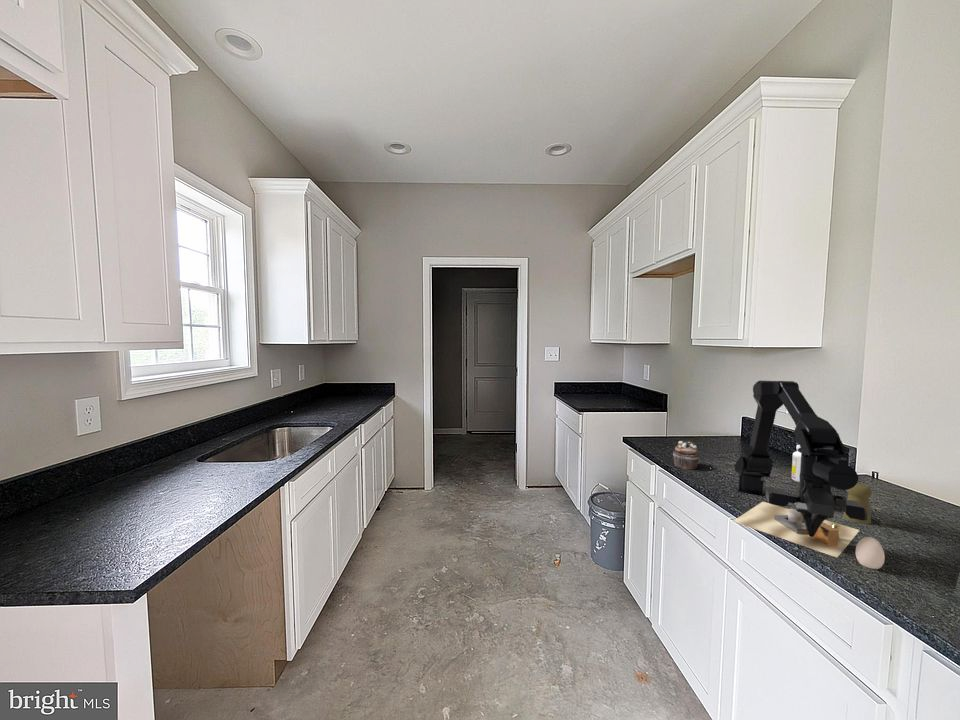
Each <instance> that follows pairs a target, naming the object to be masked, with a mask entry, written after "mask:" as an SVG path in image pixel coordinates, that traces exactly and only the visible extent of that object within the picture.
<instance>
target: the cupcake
mask: <svg viewBox="0 0 960 720" xmlns="http://www.w3.org/2000/svg"><path fill="white" fill-rule="evenodd" d="M672 455H673V461H674V466H675V467H677V468H680V469H685V470H696V469H697V468H698V465H699V464H698V463H699V461H700V458H701V456H700V452H699V451H698V447H697V445H696V444H695V443H694V442H693V441H692V440H682V439H681V440H680V441H678V444H677V445H675V447H674V450H673V452H672Z"/></svg>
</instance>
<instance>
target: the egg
mask: <svg viewBox="0 0 960 720" xmlns="http://www.w3.org/2000/svg"><path fill="white" fill-rule="evenodd" d="M855 546H856V547H855V557H856V559H857V561H858V563H859V564H860V565H861V566H863V567H865V568H868V569H872V570H879V569H881V568H882V567H883V566H884V564H885V559H886V558H885V557H886V555H885V551H884V549H883V546H882V544H881V543H880V542H879V541H878V540H877V539H876V538H874V537H872V536H865V537H863V538H861V539H859V540H858V543H857V544H856V545H855Z"/></svg>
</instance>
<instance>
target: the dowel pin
mask: <svg viewBox="0 0 960 720" xmlns="http://www.w3.org/2000/svg"><path fill="white" fill-rule="evenodd" d="M834 523H835V522H834ZM834 523H832V524H831V527H833V528H835V529H837V530H839V528H840V526H839V525H838V524H839V523H837V524H834ZM838 540H839V533H838Z"/></svg>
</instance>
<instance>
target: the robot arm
mask: <svg viewBox="0 0 960 720" xmlns="http://www.w3.org/2000/svg"><path fill="white" fill-rule="evenodd" d="M752 393H753V395H752V396H753V399H754V401H755V403H756V404H757V408H756V412H755V418H754V422H753V428H752V432H751V437H750V443H749V445H747V446H746V447H745V448H744V449H742V452H741V455H740V457H739V458H738V459H737V460H736V462H735V463H734V471H735V472H736V473H737V474H738V477H739V478H738V481H739V482H738V488H737V489H736V492H739V493H744V494H748V495H753V496H760V497H761V496H763V495H765V498H766V501H767V503H770V504H772V505H776V506H780V507H786V506H788V505H789V503H791V504H792V506H793V507H794V508H793V509H796V511H798V512H801V515H802V517H803V520H804V522H805V525H806V528H807V531H808V534H809V536H810V537H814V535H815V533H816V532H817V530H818V528H819V526H820V525H821V524H822V522H823V521H824V520H828V519H829V518H830V519H834V518H835V513H844V512H845V514H846V515H847V516H848V517H849V518H852V519H858V520H864V521H866V520H867V510H866V509H865V508H864V507H863V506H861V505H860V504H859V503H858V502H857V501H852V500H847V498H846V497H845V496H843V495H837V494H833V493H832V487H833V488H836V489H837V490H841V491H846V490H848V489H851V488H853V487H854V486H855V485H856V484H857V483H858V482H859V475H858V473H857V471H856V470H855V469H854V467H852V466H850V465H849V460H848V459H847V458H848V455H847V453H846V452H847V449H846V447H845V445H844V444H843V442H842V440H841V437H840V434H839V432H838V431H837V430H836V428H834V427H833V425H832V424H831V423H830V422H829V421H828V420H826V419H824V418H821V417H820V416H818V415H817V414H816V412H815V411H814V409H813V408H812V406H811V405H810V403H809V402H808V401H807V399H806V398H805V396H804V394H803V393H802V392H801V390H800V386H799V383H798V382H797V381H793V380H758V381H756V382H755V383H754V384H753V386H752ZM782 406H784V408H785V410H786V411H787V412H788V415H789V416H790V418H791V419H792V420H793V422H794V424H795V427H794V430H793V433H794V436H795V441H797V443H798V445H800V447H801V448H799V449H798V452H800V453H801V467H800V477H799V478H800V483H799V482H798V483H799V486H798V495H794V494H788V493H787V491H786V490H785V489H782V488H776V487H775V488H774V487H767V481H766V480H765V478H770V476H771V473H772V469H773V463H774V460H773V458H772V457H771V455H770V453H769V446H770V443H771V442H770V441H771V436H772V432H773V427H774V423H775V419H776V415H777V411H778V410H779V409H780V408H781V407H782ZM831 486H832V487H831ZM766 487H767V488H766Z"/></svg>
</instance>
